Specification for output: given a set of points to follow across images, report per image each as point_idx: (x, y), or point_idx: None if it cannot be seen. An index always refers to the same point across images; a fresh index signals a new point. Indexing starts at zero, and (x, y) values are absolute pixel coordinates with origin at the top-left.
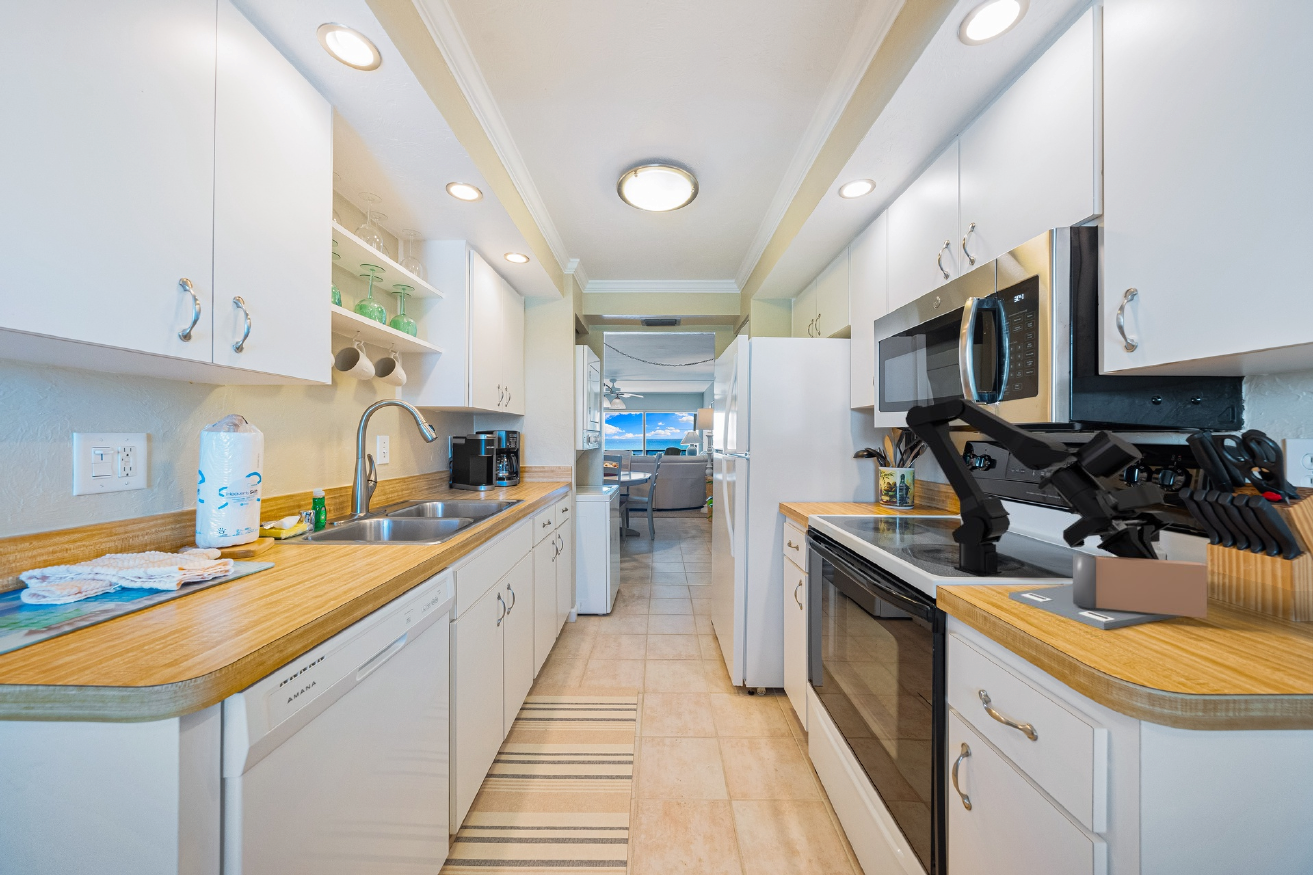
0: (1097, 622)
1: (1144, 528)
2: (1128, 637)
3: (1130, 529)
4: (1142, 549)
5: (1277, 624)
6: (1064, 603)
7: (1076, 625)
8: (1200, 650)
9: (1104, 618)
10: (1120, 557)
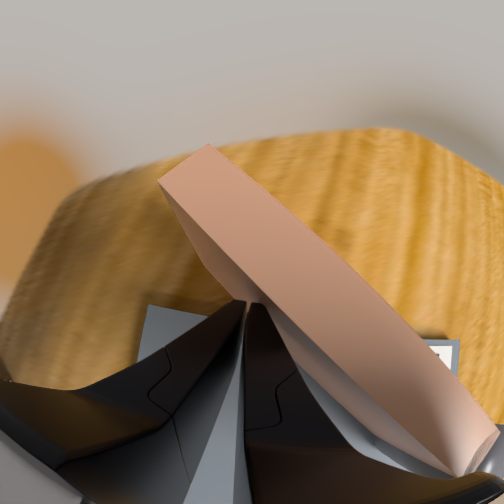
0: (458, 352)
1: (71, 448)
2: (448, 299)
3: (443, 490)
4: (287, 382)
5: (91, 204)
6: (397, 464)
7: (466, 375)
8: (396, 214)
9: (439, 356)
10: (408, 419)
